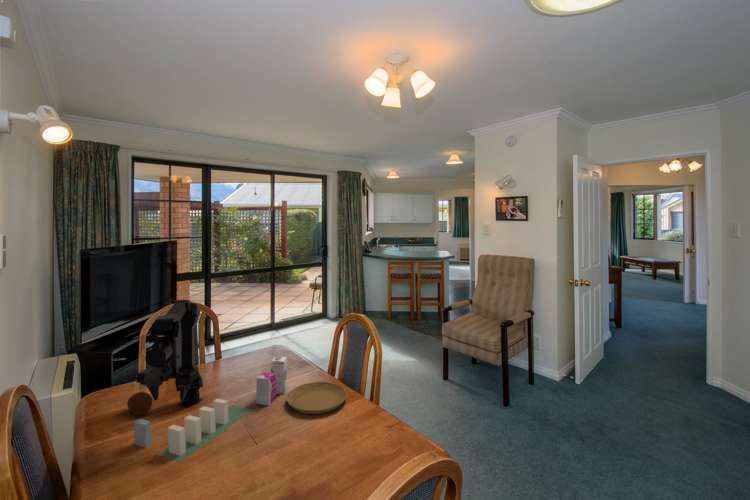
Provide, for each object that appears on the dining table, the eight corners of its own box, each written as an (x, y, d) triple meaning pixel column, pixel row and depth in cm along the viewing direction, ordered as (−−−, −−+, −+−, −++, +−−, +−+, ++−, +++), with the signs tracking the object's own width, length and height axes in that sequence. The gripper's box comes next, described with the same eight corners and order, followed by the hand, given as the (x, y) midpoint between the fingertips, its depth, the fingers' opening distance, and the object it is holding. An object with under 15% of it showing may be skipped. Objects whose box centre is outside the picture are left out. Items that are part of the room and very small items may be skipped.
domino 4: (213, 422, 127) (212, 401, 126) (217, 419, 128) (217, 398, 128) (224, 424, 125) (223, 403, 124) (228, 422, 127) (227, 400, 126)
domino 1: (168, 452, 110) (167, 427, 109) (174, 448, 112) (173, 424, 111) (180, 455, 108) (179, 431, 107) (186, 452, 110) (185, 427, 109)
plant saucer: (335, 384, 158) (335, 377, 158) (355, 409, 136) (355, 401, 136) (281, 395, 148) (281, 388, 147) (294, 424, 126) (294, 415, 126)
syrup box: (273, 388, 154) (273, 356, 153) (287, 387, 154) (286, 356, 153) (271, 394, 148) (270, 361, 147) (285, 394, 148) (284, 361, 147)
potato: (142, 403, 140) (141, 384, 140) (160, 410, 135) (159, 391, 135) (121, 413, 134) (120, 392, 133) (139, 420, 128) (138, 399, 128)
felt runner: (157, 455, 109) (157, 454, 109) (232, 405, 139) (232, 405, 139) (180, 462, 105) (180, 461, 105) (252, 410, 135) (252, 409, 135)
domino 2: (185, 441, 115) (184, 418, 115) (190, 437, 117) (189, 415, 117) (196, 444, 114) (195, 421, 113) (201, 441, 115) (200, 417, 115)
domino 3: (200, 431, 121) (199, 409, 120) (204, 428, 123) (203, 406, 122) (211, 434, 119) (210, 411, 119) (215, 431, 121) (214, 409, 120)
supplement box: (269, 406, 138) (268, 378, 137) (256, 405, 139) (255, 377, 138) (276, 399, 144) (275, 372, 143) (263, 398, 145) (262, 371, 144)
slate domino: (135, 445, 114) (134, 421, 113) (141, 441, 116) (140, 418, 115) (145, 448, 112) (144, 424, 111) (151, 445, 114) (150, 421, 113)
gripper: (121, 363, 108) (124, 412, 109) (179, 365, 107) (181, 414, 108) (147, 351, 120) (149, 395, 120) (199, 352, 118) (201, 396, 119)
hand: (169, 400), depth 117 cm, fingers open, 9 cm apart
